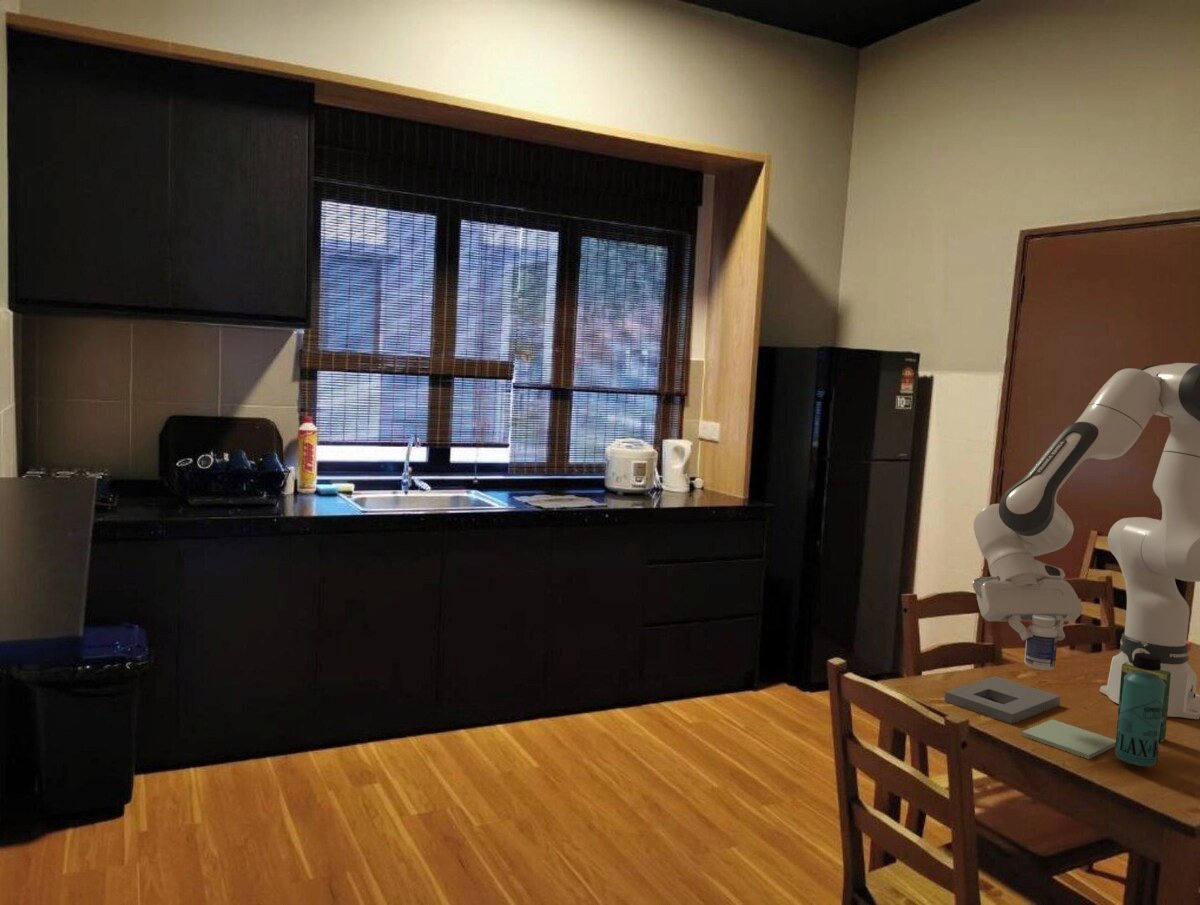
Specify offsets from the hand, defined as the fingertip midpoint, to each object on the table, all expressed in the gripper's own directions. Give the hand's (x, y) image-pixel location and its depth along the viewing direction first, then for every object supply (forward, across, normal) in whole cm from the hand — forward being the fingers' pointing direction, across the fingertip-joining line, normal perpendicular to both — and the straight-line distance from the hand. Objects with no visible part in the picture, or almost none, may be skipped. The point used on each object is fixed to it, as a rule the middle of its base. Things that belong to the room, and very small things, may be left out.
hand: (1044, 639), depth 171 cm
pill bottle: (+4, 0, +4) cm, 6 cm away
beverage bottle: (+26, +6, -1) cm, 26 cm away
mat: (+17, +2, +7) cm, 19 cm away
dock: (+4, 0, +20) cm, 20 cm away
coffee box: (+16, +18, +9) cm, 26 cm away
